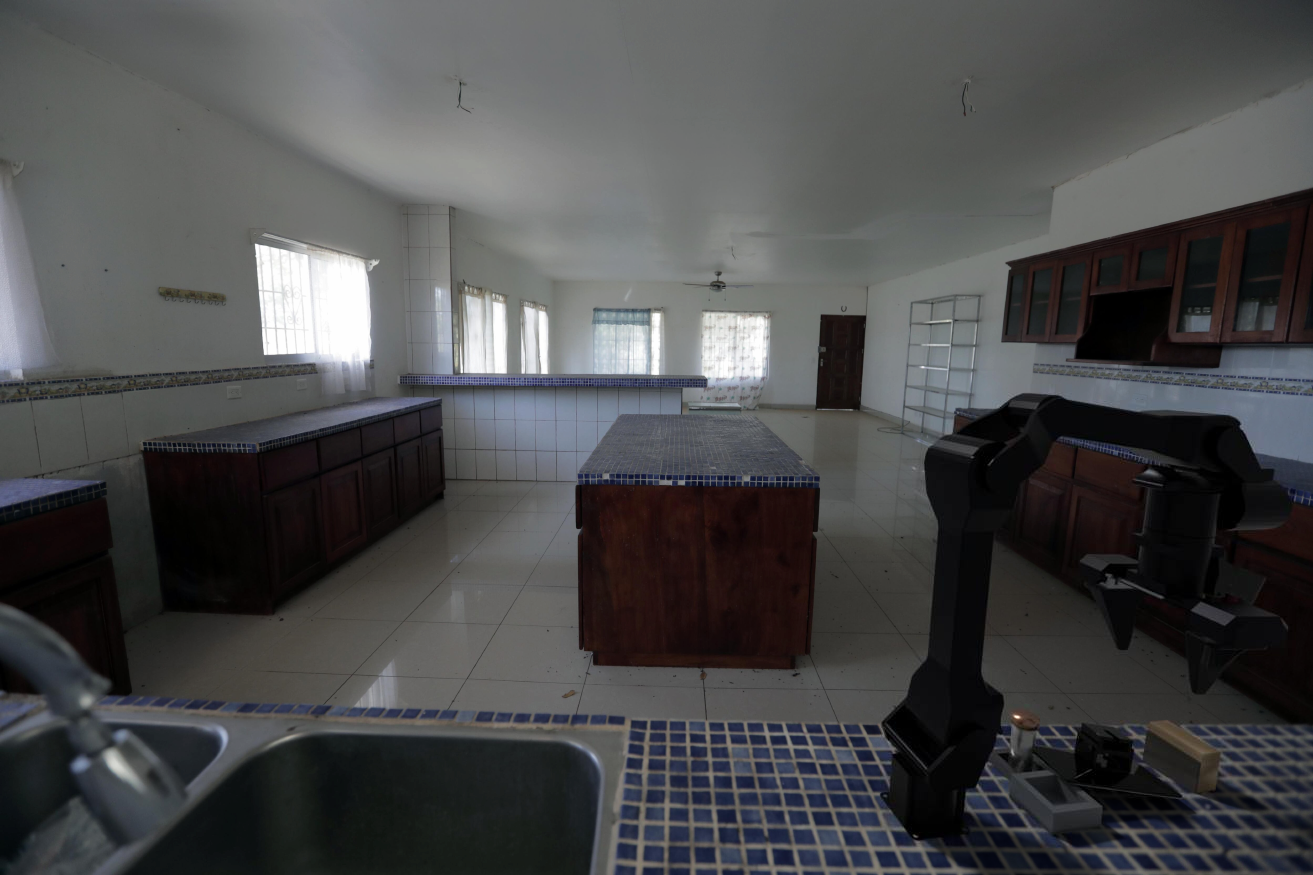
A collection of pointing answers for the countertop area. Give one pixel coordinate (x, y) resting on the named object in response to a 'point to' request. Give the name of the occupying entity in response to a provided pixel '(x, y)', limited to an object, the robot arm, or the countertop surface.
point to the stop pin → (1023, 740)
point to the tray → (1055, 802)
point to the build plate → (1103, 763)
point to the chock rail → (1181, 756)
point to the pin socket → (999, 761)
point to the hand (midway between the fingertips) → (1157, 670)
